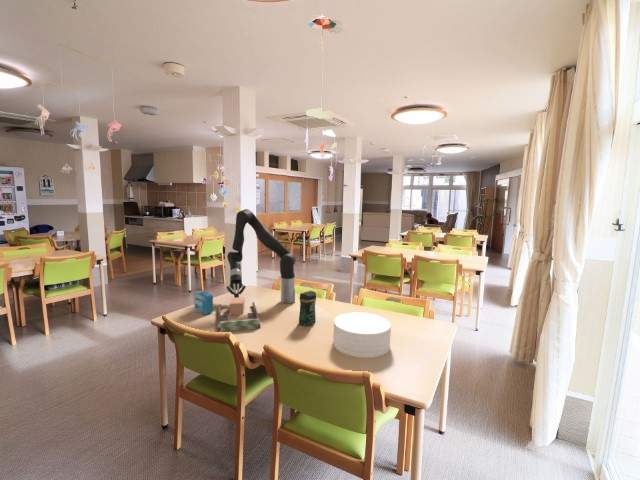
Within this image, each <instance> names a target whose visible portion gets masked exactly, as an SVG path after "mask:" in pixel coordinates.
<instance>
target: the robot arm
mask: <svg viewBox="0 0 640 480" xmlns="http://www.w3.org/2000/svg"><path fill="white" fill-rule="evenodd" d="M247 224H248V225H249V226H251V228H252V229H253V230H254V232H255V235H256V237H257V239H258V241H259V242H260V243H261V244H262V245H263V246H264V247H265V248H266V249H268V250H269V251H271V252H273V253H275V254H276V255H277V256H278V257H279V258H280V261H279V272H280V302H281V303H282V304H293V303H296V288H295V276H296V275H295V272H294V270H295V269H294V265H296V262H297V261H296V260H297V259H296V256H295V255H294V254H293V253H292V252H290V251H289V250H288V249H287V248H286V247H284V245H283V244H282V243H281V242H280V241H279V239H277V237H275V236H274V235H273V233H272V232H271V231H270V230H268V228H267V227H266V226H264V224H263V223H262V222H261V221H260V220H259V219H258V217H257V216H256V215H255V213H254V212H253V211H252V210H250V209H247V208H246V209H242V210H239V211H238V212H237V213H236V216H235V230H234V237H233V242H232V246H231V247H232V250H234V251H229V252H228V253H227V261H228V264H229V270H230V271H229V272H230V274H229V277H230V278H229V285H228V286H226V290H227V291H228V292H229V293H230V294H231V295H234V297H233V298H238V297H240V296H239V295H242V293H244V291H245V289H246V287H247V286H246V285H244V284H243V282H242V280H243V279H242V271H241V268H242V266H241V263H240V262H242V260H243V257H244V256H243V247H244V242H245V234H244V233H245V232H244V231H245V227H246V225H247Z"/></svg>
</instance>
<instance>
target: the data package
mask: <svg viewBox="0 0 640 480" xmlns="http://www.w3.org/2000/svg"><path fill="white" fill-rule="evenodd" d="M193 296H194V297H193V299H194V311H195V312H197V313H202V314H204V315H209V314H211V313H213V311H214V295H213V293H210V292H207V291H203V290H199V291H196V292H194V295H193Z"/></svg>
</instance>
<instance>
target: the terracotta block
mask: <svg viewBox="0 0 640 480" xmlns="http://www.w3.org/2000/svg"><path fill="white" fill-rule="evenodd" d="M245 299H246V298H245V297H244V296H243V297H241V296H239V297H238V298H234V297H231V299H230V301H229V315H230V316H232V315H244V312H245V306H246V305H245Z"/></svg>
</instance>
